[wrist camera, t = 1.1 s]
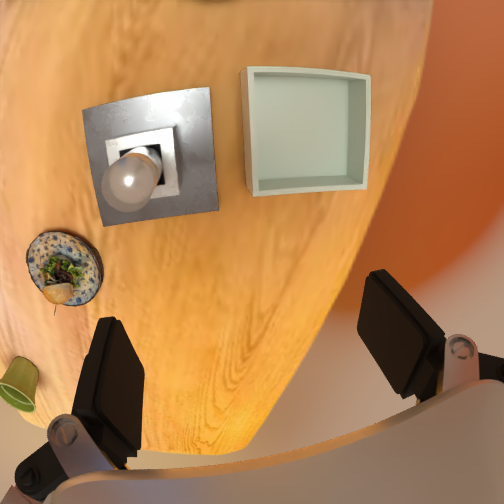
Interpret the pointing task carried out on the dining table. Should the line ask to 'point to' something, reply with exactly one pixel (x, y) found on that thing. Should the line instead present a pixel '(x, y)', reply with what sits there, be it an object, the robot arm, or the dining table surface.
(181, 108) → the stud block
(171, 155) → the grey piece
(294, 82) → the bin
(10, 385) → the plant pot
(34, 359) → the dining table surface
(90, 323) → the dining table surface
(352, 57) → the dining table surface
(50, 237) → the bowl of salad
